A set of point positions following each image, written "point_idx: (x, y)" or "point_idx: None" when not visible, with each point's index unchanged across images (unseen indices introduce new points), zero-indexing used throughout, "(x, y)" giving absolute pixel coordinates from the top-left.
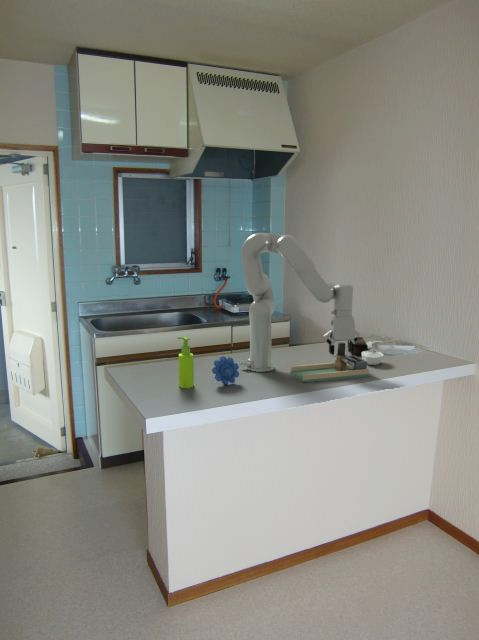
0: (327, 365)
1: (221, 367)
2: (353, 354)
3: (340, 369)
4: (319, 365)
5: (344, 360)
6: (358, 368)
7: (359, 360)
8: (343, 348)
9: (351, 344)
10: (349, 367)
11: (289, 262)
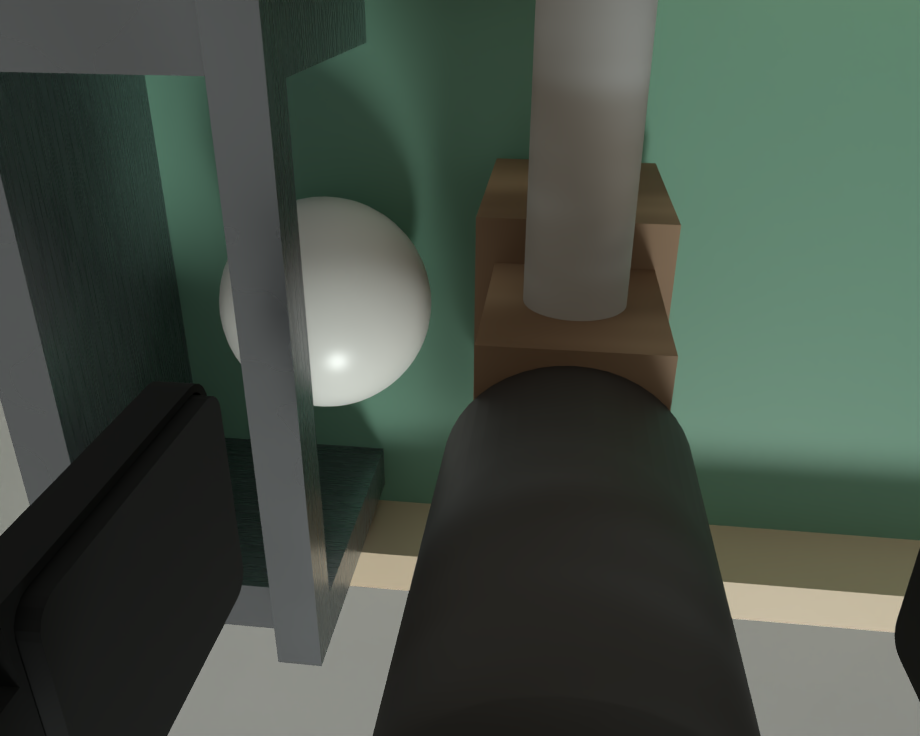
0: None
1: None
2: None
3: (654, 178)
4: (882, 580)
5: (645, 109)
6: None
7: (55, 295)
8: (557, 525)
9: (47, 638)
10: (386, 219)
11: None
